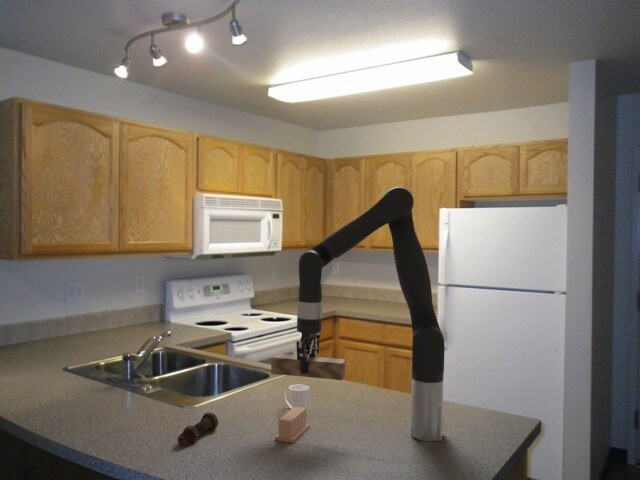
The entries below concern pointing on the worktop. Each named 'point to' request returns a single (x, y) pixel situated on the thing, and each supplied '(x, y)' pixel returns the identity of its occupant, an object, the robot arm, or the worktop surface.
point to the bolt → (198, 429)
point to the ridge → (292, 425)
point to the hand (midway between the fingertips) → (307, 370)
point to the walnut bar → (316, 367)
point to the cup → (297, 395)
